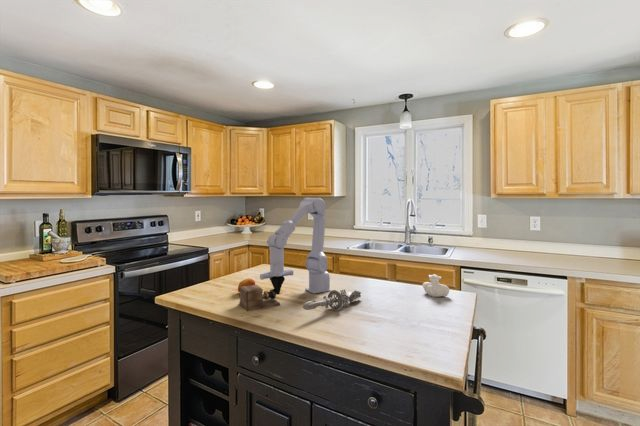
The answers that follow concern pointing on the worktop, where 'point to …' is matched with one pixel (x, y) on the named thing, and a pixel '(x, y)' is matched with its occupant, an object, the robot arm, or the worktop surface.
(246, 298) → the bearing housing
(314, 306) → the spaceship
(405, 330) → the worktop surface
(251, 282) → the fruit
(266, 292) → the shaft
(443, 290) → the white rounded figure
